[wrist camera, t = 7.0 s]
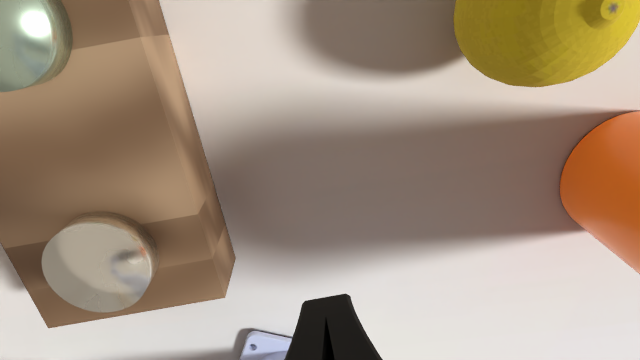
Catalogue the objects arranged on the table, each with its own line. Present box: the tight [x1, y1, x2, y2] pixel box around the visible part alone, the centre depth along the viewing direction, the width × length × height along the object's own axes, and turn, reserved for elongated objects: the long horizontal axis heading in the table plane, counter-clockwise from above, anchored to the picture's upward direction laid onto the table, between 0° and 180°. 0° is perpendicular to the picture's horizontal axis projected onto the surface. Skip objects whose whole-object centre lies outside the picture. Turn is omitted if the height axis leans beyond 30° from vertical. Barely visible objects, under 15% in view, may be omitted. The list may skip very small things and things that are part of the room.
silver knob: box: [42, 211, 159, 312], centre depth 19 cm, size 4×4×4 cm
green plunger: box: [0, 0, 73, 92], centre depth 15 cm, size 4×4×4 cm
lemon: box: [453, 0, 640, 87], centre depth 15 cm, size 6×6×8 cm
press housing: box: [0, 0, 236, 328], centre depth 18 cm, size 17×9×4 cm, turn 10°
